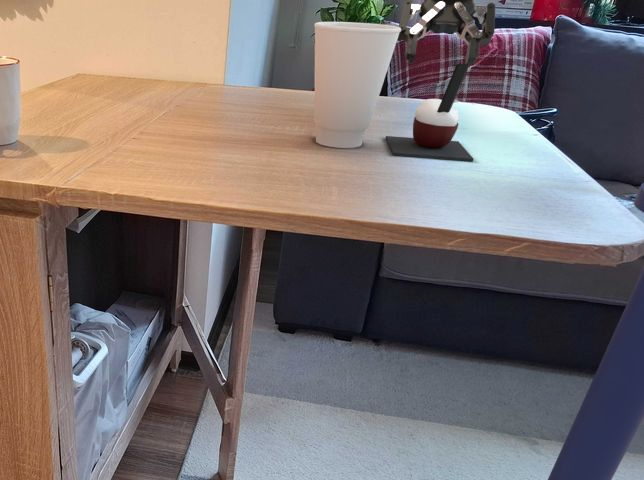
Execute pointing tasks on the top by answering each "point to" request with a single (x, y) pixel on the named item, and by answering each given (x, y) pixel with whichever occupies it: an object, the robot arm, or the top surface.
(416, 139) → the cocoa
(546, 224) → the top surface
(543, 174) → the top surface
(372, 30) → the cup
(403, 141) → the coaster
